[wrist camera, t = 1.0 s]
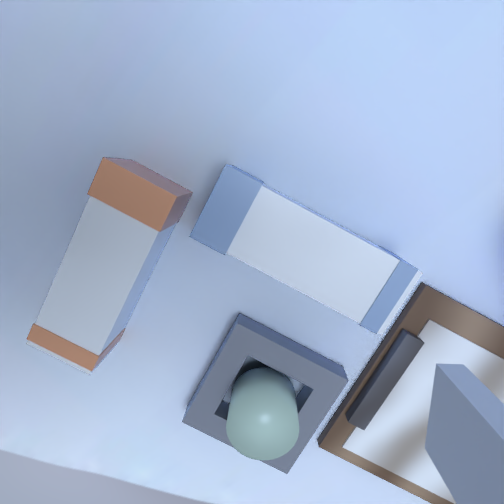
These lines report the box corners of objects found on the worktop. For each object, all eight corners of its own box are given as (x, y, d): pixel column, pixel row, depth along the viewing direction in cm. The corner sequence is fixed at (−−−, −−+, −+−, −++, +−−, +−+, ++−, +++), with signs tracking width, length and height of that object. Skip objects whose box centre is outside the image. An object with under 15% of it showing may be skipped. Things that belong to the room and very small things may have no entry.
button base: (187, 405, 31) (182, 421, 29) (239, 312, 29) (237, 323, 27) (285, 455, 31) (287, 473, 29) (343, 366, 29) (348, 380, 27)
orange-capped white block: (117, 345, 30) (89, 377, 25) (61, 317, 29) (22, 344, 25) (192, 192, 27) (176, 196, 22) (132, 159, 27) (103, 157, 22)
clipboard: (317, 439, 31) (320, 456, 29) (421, 282, 28) (432, 289, 26) (465, 514, 31) (477, 534, 30) (582, 369, 28) (603, 382, 27)
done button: (220, 407, 29) (213, 440, 25) (250, 356, 28) (247, 383, 24) (276, 435, 29) (276, 471, 26) (307, 386, 28) (312, 416, 25)
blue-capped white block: (398, 255, 27) (425, 272, 23) (363, 310, 28) (381, 338, 24) (233, 165, 27) (225, 164, 22) (203, 225, 28) (189, 236, 23)
